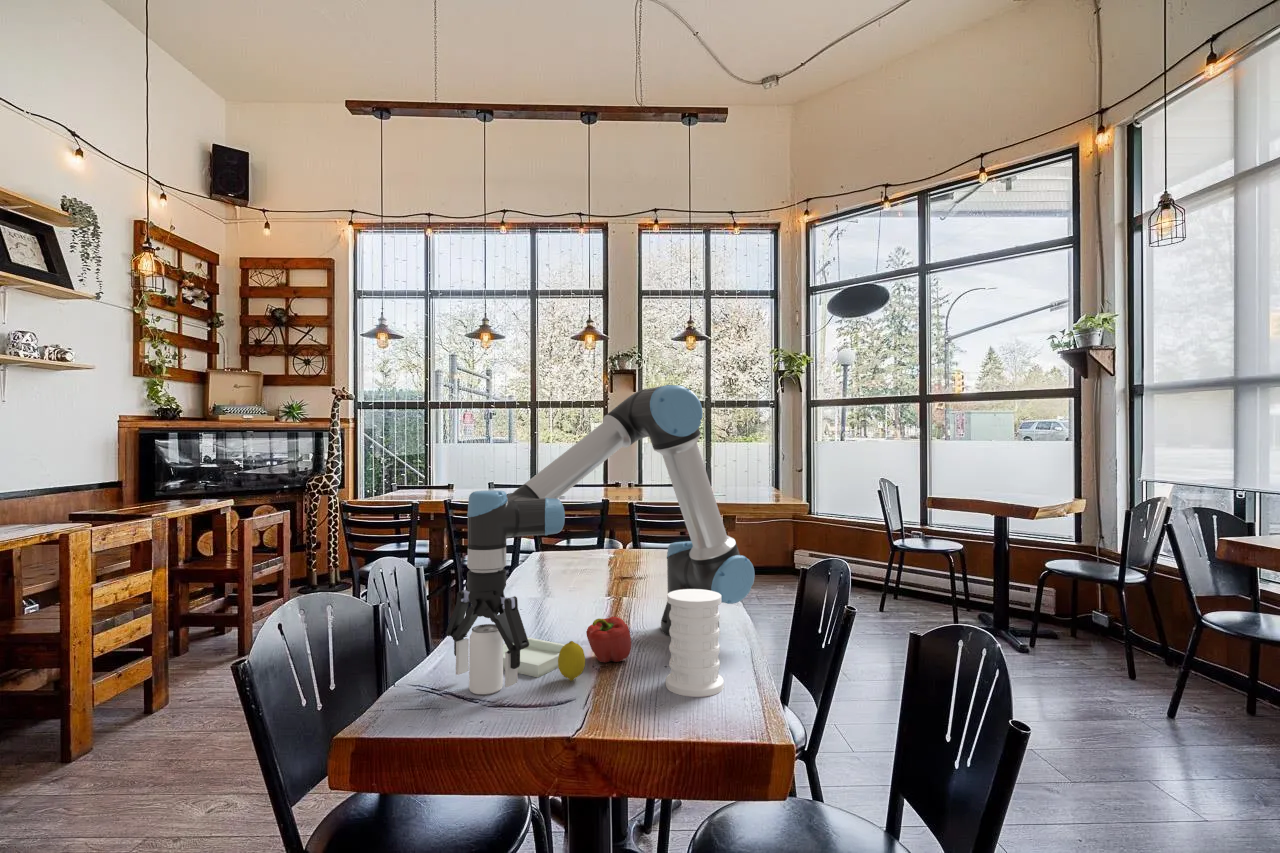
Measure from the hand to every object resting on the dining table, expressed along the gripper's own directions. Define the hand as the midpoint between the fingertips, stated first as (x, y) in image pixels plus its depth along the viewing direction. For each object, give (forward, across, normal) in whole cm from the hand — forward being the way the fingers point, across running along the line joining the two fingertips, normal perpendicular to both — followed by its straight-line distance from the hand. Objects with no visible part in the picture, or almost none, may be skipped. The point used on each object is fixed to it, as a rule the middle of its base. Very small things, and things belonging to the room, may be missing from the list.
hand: (486, 678), depth 124 cm
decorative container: (+2, -35, -22) cm, 41 cm away
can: (+2, 0, 0) cm, 2 cm away
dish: (+2, +3, -17) cm, 17 cm away
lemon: (+2, -12, -12) cm, 17 cm away
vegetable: (+2, -12, -26) cm, 29 cm away
